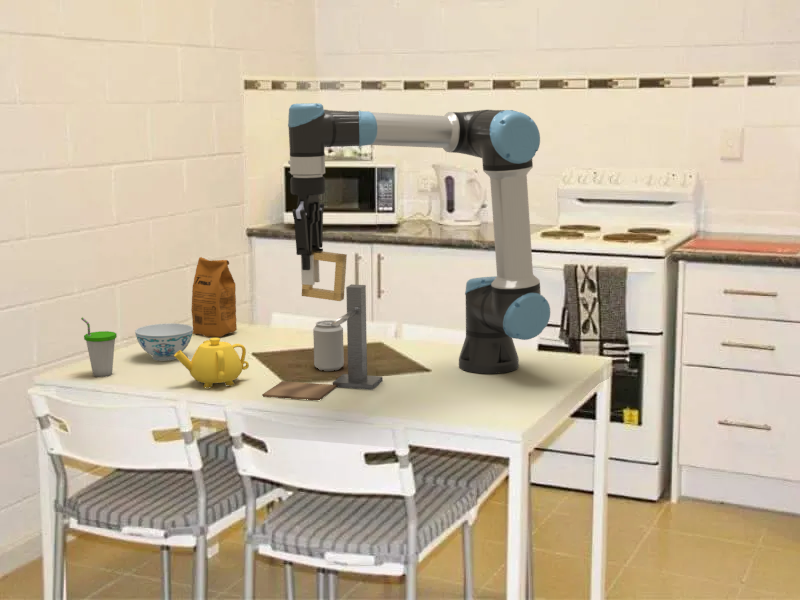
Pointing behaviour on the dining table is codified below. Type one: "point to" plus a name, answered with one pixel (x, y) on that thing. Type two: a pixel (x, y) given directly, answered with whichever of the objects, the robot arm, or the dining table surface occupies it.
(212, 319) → the coffee package
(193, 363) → the teapot
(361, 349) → the stand
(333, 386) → the walnut board
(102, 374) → the cup
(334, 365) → the can
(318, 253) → the c link
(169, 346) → the chinaware
